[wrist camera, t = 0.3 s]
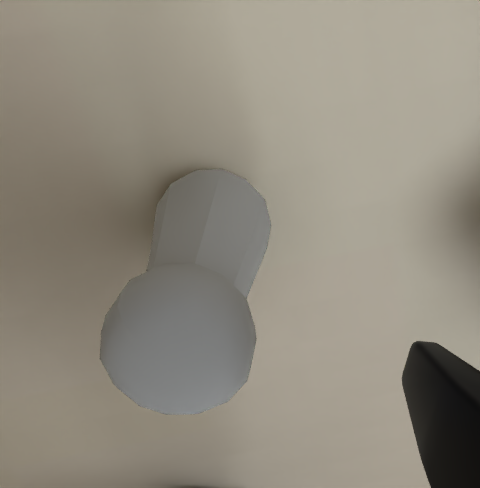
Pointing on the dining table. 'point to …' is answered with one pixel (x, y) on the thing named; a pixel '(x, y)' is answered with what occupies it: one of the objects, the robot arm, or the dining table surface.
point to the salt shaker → (191, 298)
